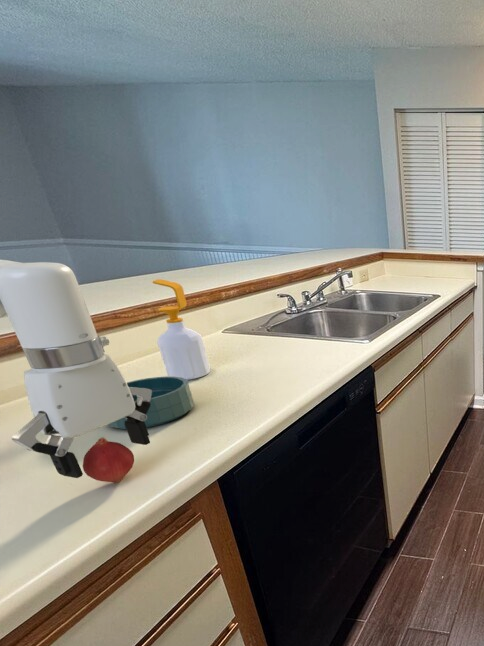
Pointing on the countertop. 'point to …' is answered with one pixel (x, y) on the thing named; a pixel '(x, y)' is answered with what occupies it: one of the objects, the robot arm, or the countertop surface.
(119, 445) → the onion
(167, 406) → the bowl
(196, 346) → the soap bottle
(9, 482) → the countertop surface
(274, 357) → the countertop surface
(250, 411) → the countertop surface
